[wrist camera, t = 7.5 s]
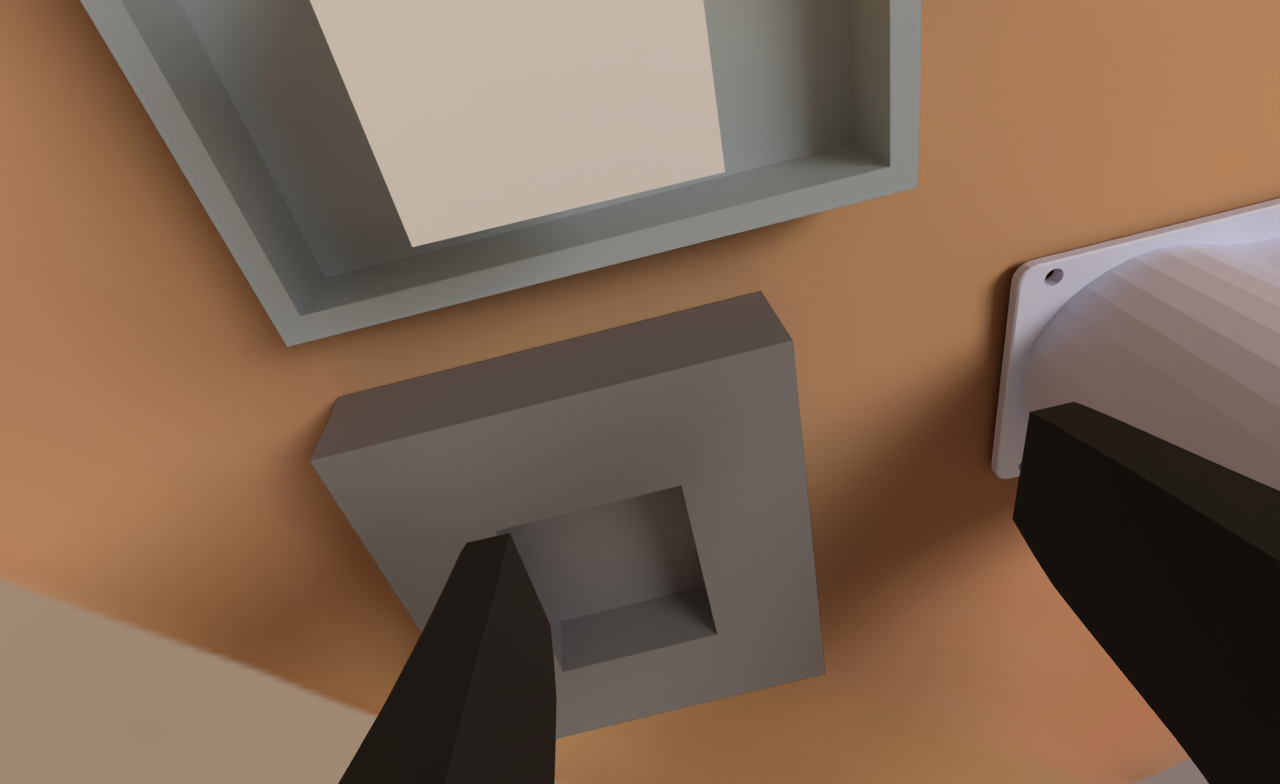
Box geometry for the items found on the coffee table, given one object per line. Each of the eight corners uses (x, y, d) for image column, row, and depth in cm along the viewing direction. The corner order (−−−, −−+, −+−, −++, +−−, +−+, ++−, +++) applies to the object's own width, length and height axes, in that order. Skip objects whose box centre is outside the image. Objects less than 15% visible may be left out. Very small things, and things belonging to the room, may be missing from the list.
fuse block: (761, 291, 18) (792, 340, 16) (800, 609, 26) (825, 673, 24) (338, 397, 19) (309, 461, 16) (502, 681, 27) (498, 752, 24)
